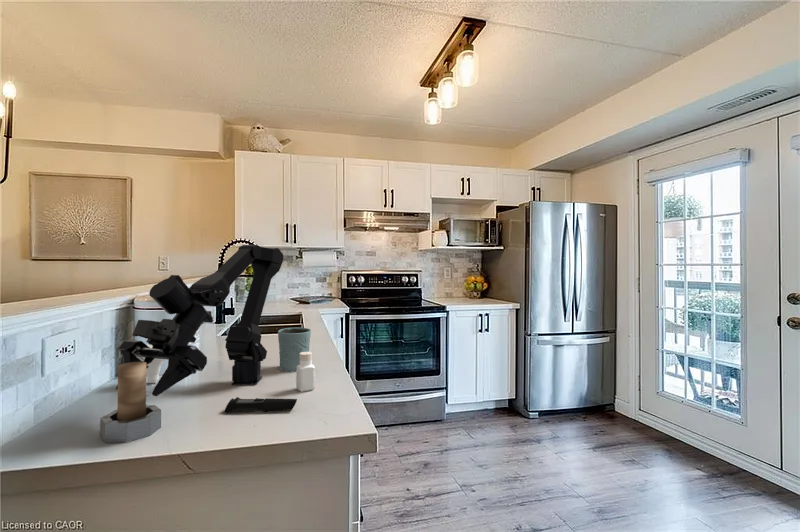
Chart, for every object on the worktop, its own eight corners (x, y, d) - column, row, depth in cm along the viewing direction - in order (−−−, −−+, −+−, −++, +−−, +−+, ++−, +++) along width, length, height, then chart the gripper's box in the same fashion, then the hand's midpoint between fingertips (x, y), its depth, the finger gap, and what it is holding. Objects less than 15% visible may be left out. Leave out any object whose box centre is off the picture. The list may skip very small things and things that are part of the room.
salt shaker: (310, 385, 102) (310, 350, 102) (315, 390, 99) (315, 353, 99) (295, 388, 100) (295, 352, 100) (300, 392, 96) (300, 355, 96)
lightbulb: (156, 386, 100) (157, 345, 100) (133, 386, 100) (134, 344, 100) (171, 380, 106) (171, 340, 106) (149, 379, 106) (150, 340, 106)
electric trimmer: (294, 416, 83) (294, 401, 83) (222, 415, 82) (223, 400, 82) (298, 409, 87) (298, 395, 87) (230, 408, 86) (230, 394, 86)
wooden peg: (147, 425, 76) (148, 360, 76) (143, 434, 72) (144, 366, 72) (120, 429, 74) (121, 362, 74) (114, 438, 70) (115, 368, 70)
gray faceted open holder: (168, 421, 78) (168, 404, 78) (141, 442, 69) (142, 422, 69) (122, 422, 77) (122, 405, 77) (89, 443, 68) (89, 423, 68)
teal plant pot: (298, 362, 127) (298, 326, 127) (317, 367, 120) (317, 329, 120) (271, 368, 119) (271, 330, 119) (289, 374, 112) (290, 334, 112)
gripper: (126, 302, 81) (69, 367, 71) (196, 306, 76) (145, 376, 66) (159, 332, 89) (111, 395, 79) (224, 337, 84) (183, 405, 73)
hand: (135, 392), depth 74 cm, fingers open, 9 cm apart
